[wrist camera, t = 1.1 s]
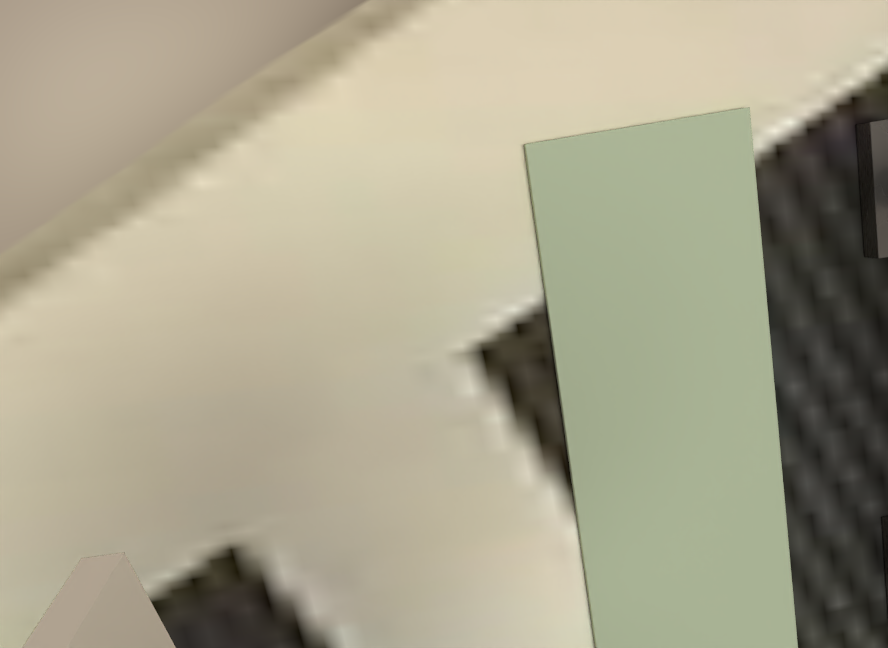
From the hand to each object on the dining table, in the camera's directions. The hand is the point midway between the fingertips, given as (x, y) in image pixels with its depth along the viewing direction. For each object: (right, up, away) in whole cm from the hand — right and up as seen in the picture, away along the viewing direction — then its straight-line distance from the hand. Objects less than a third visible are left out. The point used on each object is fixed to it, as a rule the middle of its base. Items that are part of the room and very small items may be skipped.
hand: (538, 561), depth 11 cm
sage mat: (+9, -1, +23) cm, 25 cm away
